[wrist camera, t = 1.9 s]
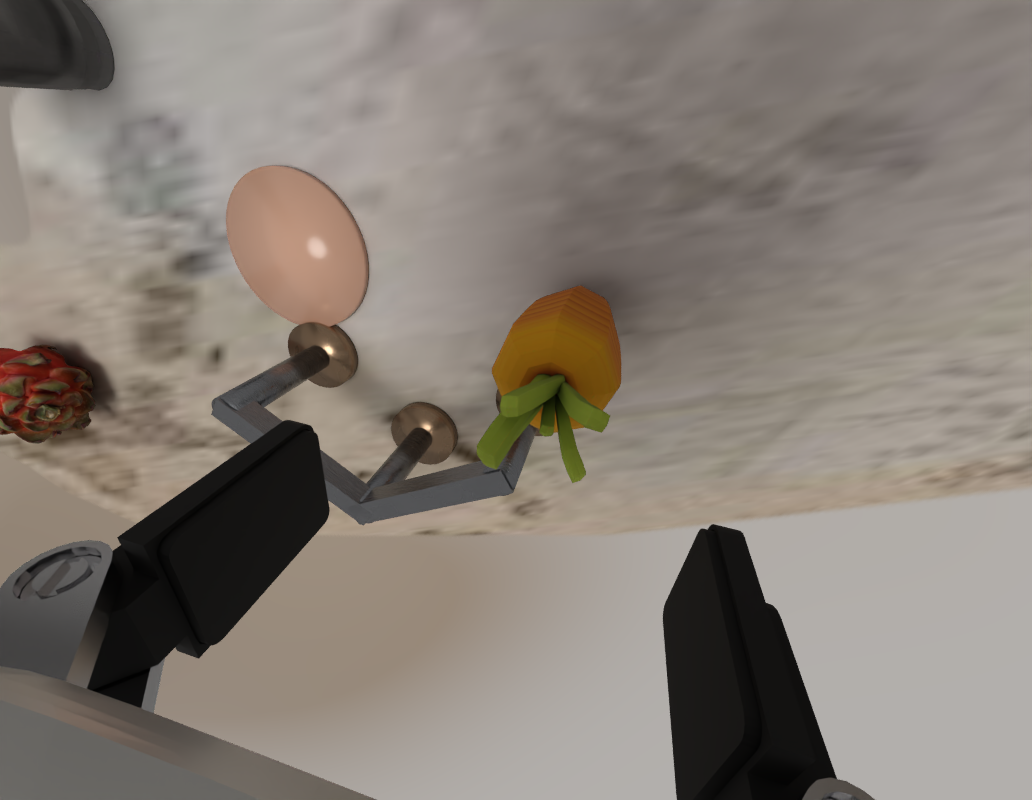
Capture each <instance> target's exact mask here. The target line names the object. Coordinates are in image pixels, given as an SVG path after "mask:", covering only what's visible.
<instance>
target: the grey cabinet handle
mask: <svg viewBox="0 0 1032 800" xmlns="http://www.w3.org/2000/svg"><path fill="white" fill-rule="evenodd" d="M288 349H289V354H290V356H291V357H290V358H288V359H286V360H285V361H283V362H281V363H279V364H277V365H275V366H274V367H272V368H270V369H268V370H266V371H264V372H263V373H261V374H259V375H257V376H255V377H253V378H252V379H250V380H248V381H246V382H244V383H242V384H241V385H239V386H237V387H235V388H233V389H231V390H230V391H228V392H226V393H224V394H222V395H220V396H219V397H217V398H215V399H214V400H213V401H212V408H213V411H212V414H211V415H213V416H214V417H215V418H217V419H218V420H220V421H221V422H222V423H224V424H225V425H226V426H228V427H229V428H231V429H232V430H233V431H235V432H236V433H237V434H239V435H240V436H241V437H243V438H244V439H246V440H247V441H248V442H250V443H253V442H254V441H256V440H257V439H258V438H260V437H261V436H263V435H264V434H266V433H267V432H268V431H270V430H271V429H273V428H274V427H276V426H277V425H278V424H280V423H281V422H283V421H281V420H280V419H279V418H277V417H276V416H275V415H273V414H272V413H271V412H269V411H268V410H267V409H265V408H264V407H265V406H267V405H268V404H270V403H272V402H273V401H275V400H276V399H278V398H279V397H281V396H282V395H284V394H286V393H287V392H289V391H290V390H292V389H293V388H295V387H297V386H298V385H300V384H301V383H303V382H304V381H306V380H307V379H308V380H310V381H311V382H313V383H315V384H317V385H319V386H322V387H328V388H332V387H337V386H340V385H341V384H343V383H344V382H345V381H347V380H348V379H350V378H351V377H352V376H353V375H354V373H355V372H356V369H357V364H358V358H357V353H356V350H355V347H354V345H353V343H352V341H351V340H350V338H349V337H348V336H347V335H346V333H345V332H344V331H343V330H341V329H340V328H339V327H338V326H336V325H332V326H329V327H328V326H326V325H324V324H321V323H317V322H306V323H303V324H301V325H299V326H297V327H295V328H294V329H293V330H292V332H291V333H290V336H289V339H288ZM501 398H502V396H501V394H500V391H499V389H498V390H497V394H496V404H497V408H498V411H499V413H501V410H500V403H501ZM391 431H392V436H393V439H394V441H395V443H396V445H397V446H398V447H397V448H396V450H395V451H394V452H393V453H392V454H391V455H390V456H389V458H388V459H387V460H386V461H385V462H384V463H383V465H382V466H381V467H380V468H379V469H378V470H377V472H376V473H375V474H374V475H373V476H372V477H371V479H370V480H369V481H368V482H367V483H366V484H365V483H364V482H363V481H361V480H360V479H359V478H357V477H356V476H355V475H353V474H352V473H351V472H349V471H348V470H347V469H345V468H344V467H343V466H341V465H340V464H339V463H337V462H336V461H335V460H333V459H332V458H331V457H329V456H328V455H327V454H325V453H324V452H323V451H321V450H320V453H321V459H322V465H323V472H324V478H325V484H326V491H327V497H328V500H329V501H330V502H332V503H333V504H334V505H336V506H337V507H339V508H340V509H341V510H343V511H344V512H345V513H347V514H348V515H349V516H351V517H352V518H354V519H355V520H356V521H357V522H358V523H359V524H362V525H364V524H365V523H372V522H374V521H379V520H384V519H389V518H394V517H399V516H404V515H408V514H413V513H418V512H423V511H428V510H433V509H438V508H442V507H447V506H452V505H457V504H462V503H467V502H472V501H476V500H481V499H486V498H491V497H496V496H505V495H508V494H510V493H513V492H514V489H515V486H516V484H517V481H518V478H519V476H520V473H521V470H522V468H523V465H524V463H525V460H526V457H527V455H528V452H529V449H530V447H531V444H532V442H533V439H534V436H543V435H542V434H540V433H539V431H540V429H538V428H536V427H534V426H532V425H530V424H529V425H528V426H527V427H526V429H525V430H524V431H523V432H522V433H521V435H520V436H519V437H518V438H517V439H516V441H514V443H513V445H512V446H511V448H510V450H509V451H508V453H507V454H506V456H505V457H504V459H503V460H502V462H501V463H500V465H499V466H498V468H497V469H493V468H490V467H487V466H486V465H484V464H483V463H482V461H479V462H475V463H471V464H467V465H463V466H459V467H455V468H451V469H447V470H443V471H439V472H435V473H431V474H427V475H423V476H419V477H415V478H411V479H407V480H405V479H406V478H407V476H408V475H409V474H410V472H411V471H412V470H413V468H414V467H415V466H416V464H417V463H418V462H420V463H424V464H437V463H440V462H443V461H444V460H446V459H447V458H448V457H449V455H450V454H451V452H452V451H453V449H454V448H455V446H456V443H457V430H456V427H455V425H454V423H453V421H452V420H451V419H450V417H449V416H448V415H447V414H446V413H445V412H444V411H442V410H441V409H439V408H438V407H436V406H434V405H431V404H428V403H423V402H417V403H411V404H409V405H407V406H405V407H404V408H403V409H402V410H401V411H400V412H399V413H398V414H397V415H396V416H395V418H394V419H393V422H392V426H391Z"/></svg>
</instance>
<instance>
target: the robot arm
mask: <svg viewBox="0 0 1032 800" xmlns="http://www.w3.org/2000/svg"><path fill="white" fill-rule="evenodd" d="M328 516H329V504H328V497H327V491H326V484H325V478H324V472H323V465H322V459H321V453H320V446H319V440H318V436H317V434H316V433H315V432H314V431H313V428H312V427H311V426H310V425H307V424H303V423H299V422H295V421H291V420H285V421H283V422H281V423H280V424H278V425H277V426H276V427H274V428H273V429H271V430H270V431H268V432H267V433H266V434H264V435H263V436H261V437H260V438H258V439H257V440H256V441H254V442H253V443H251V444H250V445H248V446H247V447H246V448H244V449H243V450H241V451H240V452H238V453H237V454H236V455H234V456H233V457H231V458H230V459H228V460H227V461H226V462H224V463H223V464H221V465H220V466H219V467H217V468H216V469H214V470H213V471H211V472H210V473H209V474H207V475H206V476H204V477H203V478H201V479H200V480H199V481H197V482H196V483H194V484H193V485H191V486H190V487H189V488H187V489H186V490H184V491H183V492H181V493H180V494H179V495H177V496H176V497H174V498H173V499H171V500H170V501H169V502H167V503H166V504H164V505H163V506H161V507H160V508H159V509H157V510H156V511H154V512H153V513H151V514H150V515H149V516H147V517H146V518H144V519H143V520H141V521H140V522H139V523H137V524H136V525H134V526H133V527H132V528H130V529H129V530H127V531H126V532H125V533H123V534H122V535H120V536H119V537H118V540H119V542H120V543H121V546H119V547H118V548H116V549H115V550H114V551H112V549H111V548H110V546H109V545H108V544H106V543H103V542H101V541H92V540H87V541H79V542H73V543H69V544H66V545H62V546H59V547H56V548H54V549H51V550H49V551H47V552H44V553H42V554H40V555H38V556H36V557H35V558H33V559H31V560H30V561H28V562H26V563H25V564H23V565H22V566H21V567H19V568H18V569H17V570H16V571H15V572H13V573H12V574H11V575H10V576H9V577H8V579H7V580H6V581H5V582H4V583H3V585H2V586H1V588H0V800H376V799H373V798H371V797H368V796H365V795H363V794H360V793H358V792H355V791H353V790H350V789H348V788H345V787H343V786H340V785H338V784H335V783H332V782H330V781H327V780H325V779H322V778H319V777H317V776H314V775H312V774H309V773H307V772H304V771H302V770H299V769H296V768H294V767H291V766H289V765H286V764H284V763H281V762H279V761H276V760H274V759H271V758H268V757H266V756H263V755H261V754H258V753H255V752H253V751H250V750H248V749H245V748H243V747H240V746H237V745H234V744H232V743H229V742H227V741H224V740H222V739H219V738H216V737H214V736H211V735H209V734H206V733H203V732H201V731H198V730H196V729H193V728H190V727H188V726H185V725H183V724H180V723H178V722H175V721H172V720H170V719H167V718H164V717H162V716H159V715H156V714H154V708H155V703H156V698H157V693H158V689H159V684H160V679H161V674H162V669H163V665H164V660H165V657H166V656H167V655H168V654H169V653H170V652H171V651H172V650H173V649H174V648H175V647H176V649H177V651H179V652H182V653H185V654H188V655H190V656H193V657H196V658H200V657H201V656H202V654H203V653H204V652H205V651H206V650H207V649H208V648H209V647H210V646H211V645H215V644H217V643H218V642H220V641H221V640H222V639H223V638H224V637H225V636H226V635H227V634H228V632H229V631H230V630H231V629H232V628H233V627H234V626H235V625H236V623H237V622H238V621H239V620H240V619H241V618H242V617H243V615H244V614H245V613H246V612H247V611H248V610H249V609H250V608H251V606H252V605H253V604H254V603H255V602H256V601H257V600H258V599H259V597H260V596H261V595H262V594H263V593H264V592H265V590H266V589H267V588H268V587H269V586H270V585H271V584H272V582H273V581H274V580H275V579H276V578H277V577H278V576H279V575H280V574H281V572H282V571H283V570H284V569H285V568H286V567H287V566H288V565H289V563H290V562H291V561H292V560H293V559H294V558H295V557H296V555H297V554H298V553H299V552H300V551H301V550H302V548H303V547H304V546H305V545H306V544H307V543H308V542H309V541H310V540H311V538H312V537H313V536H314V535H315V534H316V533H317V532H318V531H319V529H320V528H321V527H322V526H323V525H324V524H325V522H326V520H327V519H328ZM663 627H664V640H665V652H666V666H667V679H668V692H669V705H670V718H671V730H672V743H673V757H674V769H675V783H676V795H677V800H875V799H873V798H872V797H871V796H870V795H869V794H867V793H866V792H865V791H863V790H861V789H860V788H858V787H856V786H854V785H852V784H850V783H848V782H847V781H843V780H838V779H837V778H836V775H835V772H834V769H833V767H832V764H831V761H830V758H829V755H828V752H827V749H826V746H825V744H824V741H823V738H822V735H821V732H820V729H819V726H818V723H817V720H816V717H815V715H814V712H813V709H812V706H811V703H810V700H809V697H808V694H807V692H806V689H805V686H804V683H803V680H802V677H801V674H800V671H799V668H798V665H797V663H796V660H795V657H794V654H793V651H792V648H791V645H790V642H789V640H788V637H787V634H786V631H785V628H784V625H783V622H782V619H781V617H780V615H779V613H778V611H777V609H776V608H775V607H774V606H773V605H771V604H768V603H766V602H765V600H764V596H763V593H762V590H761V587H760V584H759V581H758V577H757V575H756V571H755V568H754V565H753V562H752V559H751V556H750V553H749V550H748V546H747V544H746V541H745V537H744V535H743V533H742V532H741V531H738V530H735V529H730V528H727V527H722V526H718V525H714V524H712V525H711V526H710V527H709V528H708V530H706V529H700V530H699V532H698V534H697V536H696V538H695V541H694V543H693V545H692V547H691V549H690V551H689V553H688V556H687V558H686V560H685V562H684V564H683V567H682V568H681V571H680V573H679V575H678V577H677V579H676V581H675V583H674V586H673V588H672V590H671V592H670V594H669V596H668V599H667V601H666V603H665V606H664V611H663Z"/></svg>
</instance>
